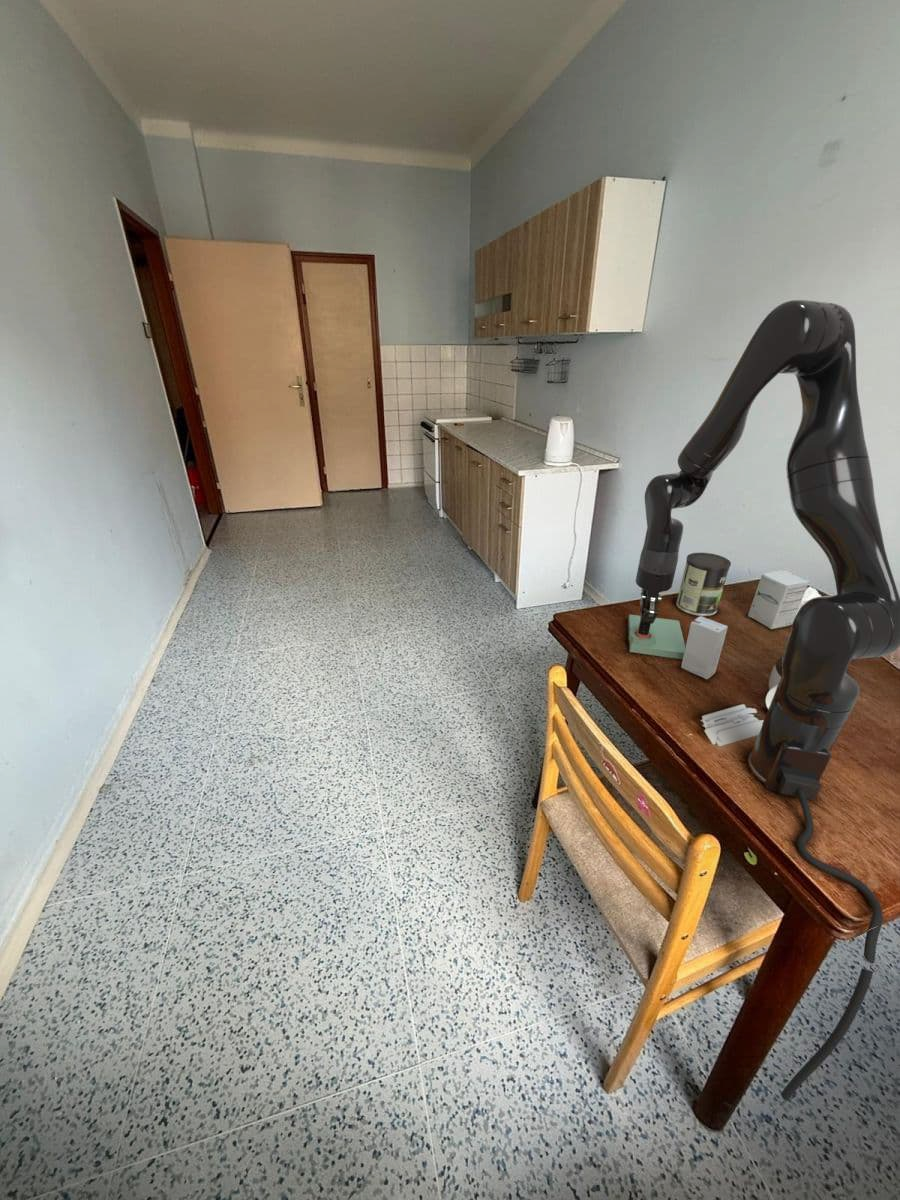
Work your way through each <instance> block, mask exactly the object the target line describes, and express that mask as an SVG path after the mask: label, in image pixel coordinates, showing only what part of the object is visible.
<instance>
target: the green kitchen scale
mask: <svg viewBox="0 0 900 1200" xmlns="http://www.w3.org/2000/svg"><path fill="white" fill-rule="evenodd" d="M639 623H640V615H636V614H628V619H627V626H628V627H627V630H628V646H629V647H628V648H629V653H636V654H642V655H649V656H656V657H662V658H663V657H664V658H669V659H677V660H683V656H684V652H685V647H686V643H685V640H684V636H683V631H682V626H681V623H680V620H678V619H677V620H676V619H669V618H660V617H656V619H655V621H654V623H653V624H652V623H651V625H650V629H649V633H650V637H649V638H647V639H644V638H639V637H637V636H636V632H637V631H638V628H639Z"/></svg>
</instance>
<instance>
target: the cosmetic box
mask: <svg viewBox="0 0 900 1200" xmlns="http://www.w3.org/2000/svg"><path fill="white" fill-rule="evenodd" d="M728 628H729V627H728V625H726V624H724V623H720V622H717V621H715V620H712V619H709V618H707V617H705V616H698V617H696V618H695V619H694V620H692V621H691V622H690V625H689V629H688V634H687V639H686V643H685V652H684V656H683V659H681V665H680V666H681V667H680V668H681V669H683V670H685V671H687V672H689V673H691V674H694V675H696V676H699V677H701V678H702V679H705V680H708V679H710V678H711V677H712V676H713V675H714V674H716V672H717V668H718V665H719V661H720V658H721V654H722V650H723V647H724V644H725V639H726V635H727V632H728Z"/></svg>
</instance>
